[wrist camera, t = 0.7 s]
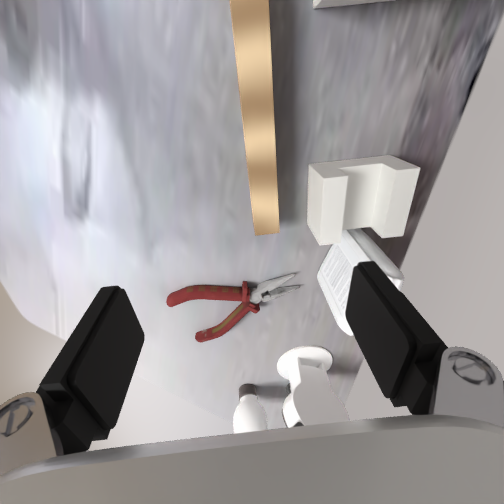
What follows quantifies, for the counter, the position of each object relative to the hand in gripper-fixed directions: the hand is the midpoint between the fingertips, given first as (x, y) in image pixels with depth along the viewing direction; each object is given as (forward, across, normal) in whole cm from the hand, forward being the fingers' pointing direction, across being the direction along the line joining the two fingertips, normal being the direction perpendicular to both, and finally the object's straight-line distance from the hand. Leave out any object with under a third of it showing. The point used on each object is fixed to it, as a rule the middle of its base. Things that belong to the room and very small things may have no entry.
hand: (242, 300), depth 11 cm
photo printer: (+24, -14, +15) cm, 31 cm away
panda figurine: (+24, -10, +41) cm, 48 cm away
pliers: (+24, +2, +23) cm, 34 cm away
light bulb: (+24, +2, +48) cm, 54 cm away
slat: (+24, -3, -6) cm, 25 cm away
